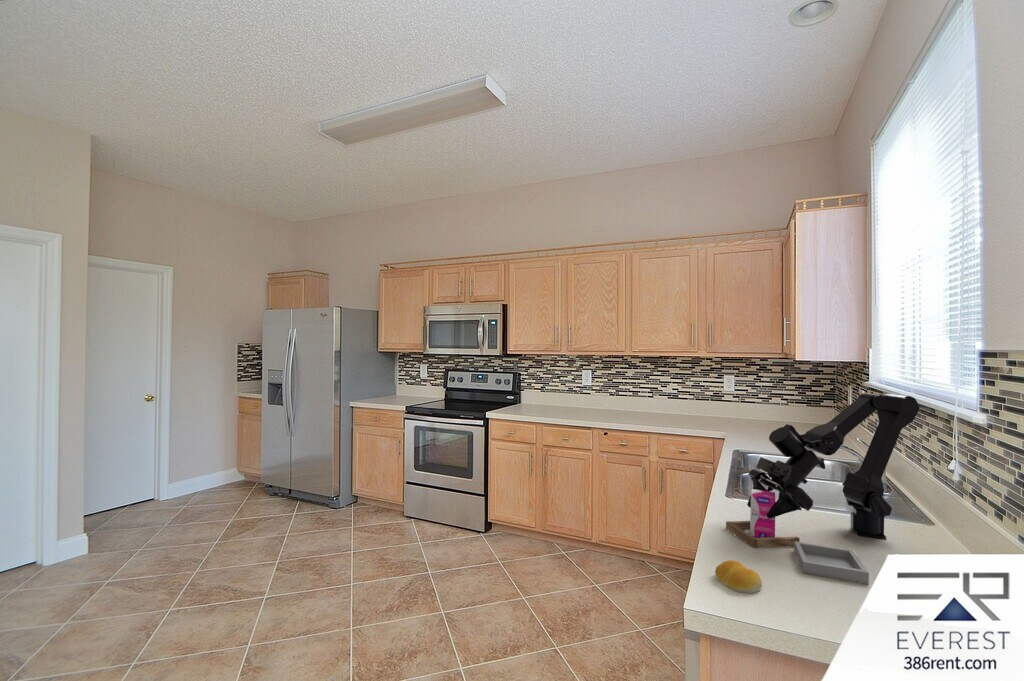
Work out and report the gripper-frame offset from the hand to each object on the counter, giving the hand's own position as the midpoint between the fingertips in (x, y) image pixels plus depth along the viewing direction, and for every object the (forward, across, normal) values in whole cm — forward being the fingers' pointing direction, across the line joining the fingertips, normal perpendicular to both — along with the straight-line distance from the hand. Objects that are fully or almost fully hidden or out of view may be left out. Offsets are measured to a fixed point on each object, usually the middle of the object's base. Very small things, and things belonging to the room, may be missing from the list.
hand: (757, 511), depth 124 cm
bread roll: (+19, +22, -9) cm, 30 cm away
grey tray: (0, +17, +9) cm, 19 cm away
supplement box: (+4, 0, +6) cm, 7 cm away
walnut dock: (+4, 0, +6) cm, 7 cm away
